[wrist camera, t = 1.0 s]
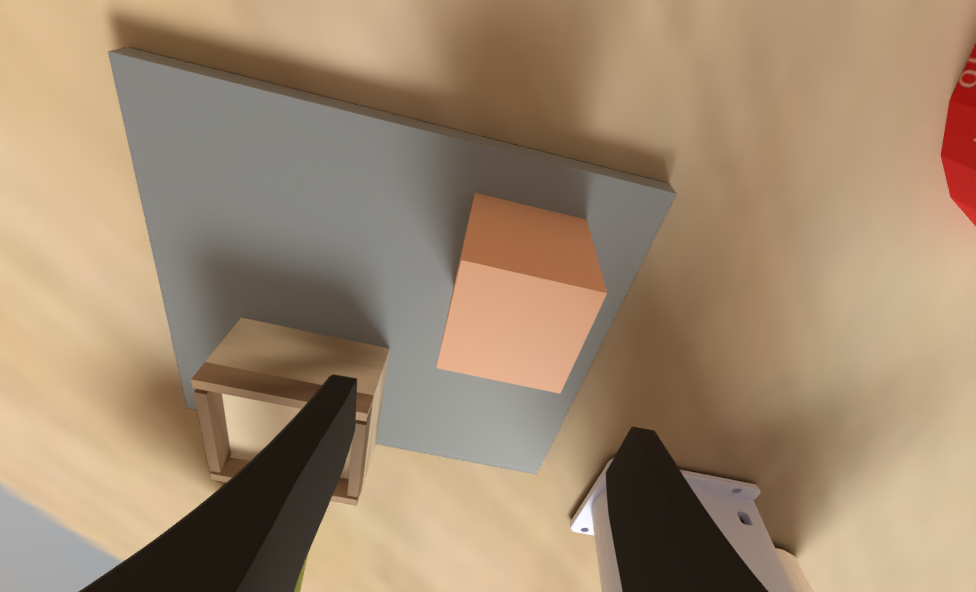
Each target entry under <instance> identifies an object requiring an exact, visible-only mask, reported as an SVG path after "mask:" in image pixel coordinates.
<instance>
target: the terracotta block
mask: <svg viewBox="0 0 976 592" xmlns="http://www.w3.org/2000/svg"><path fill="white" fill-rule="evenodd" d="M606 295H607V291H606V287H605V284H604V280H603V276H602V273H601V269H600V266H599V262H598V258H597V255H596V251H595V248H594V244H593V240H592V237H591V233H590V230H589V226H588V222H587V220H586V219H582V218H578V217H574V216H570V215H565V214H561V213H557V212H553V211H549V210H545V209H541V208H536V207H532V206H528V205H524V204H520V203H516V202H512V201H507V200H503V199H499V198H495V197H491V196H487V195H483V194H478V193H475V194H474V199H473V203H472V208H471V212H470V216H469V221H468V225H467V230H466V234H465V238H464V243H463V247H462V252H461V256H460V260H459V265H458V269H457V274H456V278H455V282H454V287H453V292H452V296H451V301H450V306H449V310H448V315H447V320H446V325H445V329H444V334H443V339H442V344H441V348H440V353H439V358H438V363H437V367H436V368H438V369H443V370H448V371H453V372H458V373H462V374H467V375H472V376H477V377H482V378H487V379H491V380H496V381H501V382H506V383H511V384H516V385H521V386H525V387H530V388H535V389H540V390H545V391H550V392H554V393H559V394H560V393H561V391H562V389H563V387H564V385H565V382H566V380H567V378H568V376H569V374H570V372H571V370H572V367H573V365H574V363H575V361H576V359H577V357H578V355H579V352H580V350H581V348H582V346H583V344H584V342H585V340H586V338H587V335H588V333H589V331H590V329H591V327H592V325H593V323H594V320H595V318H596V316H597V314H598V312H599V310H600V308H601V305H602V303H603V301H604V299H605V297H606Z"/></svg>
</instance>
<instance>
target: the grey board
mask: <svg viewBox="0 0 976 592" xmlns="http://www.w3.org/2000/svg"><path fill="white" fill-rule="evenodd" d="M108 54H109V58H110V63H111V67H112V72H113V76H114V81H115V85H116V90H117V94H118V99H119V103H120V108H121V112H122V117H123V121H124V126H125V130H126V135H127V139H128V144H129V148H130V153H131V157H132V162H133V166H134V171H135V175H136V180H137V184H138V189H139V193H140V198H141V202H142V207H143V211H144V216H145V220H146V225H147V229H148V234H149V238H150V243H151V247H152V252H153V257H154V261H155V266H156V270H157V275H158V279H159V284H160V288H161V293H162V297H163V302H164V306H165V311H166V315H167V320H168V324H169V329H170V333H171V338H172V342H173V347H174V351H175V356H176V360H177V365H178V369H179V374H180V378H181V383H182V387H183V392H184V396H185V401H186V405H187V408H189V409H194V410H197V407H196V402H195V397H194V391H195V389H196V388H193V387H192V383H191V378H192V377H193V376H194V375H195V374H196V372H197V371H198V370H199V369H200V367H201V366H202V365H203V364H204V362H205V361H206V360H207V359H208V358H209V356H210V355H211V354H212V353H213V351H214V350H215V349H216V348H217V347H218V345H219V344H220V343H221V342H222V340H223V339H224V338H225V337H226V335H227V334H228V333H229V332H230V331H231V329H232V328H233V327H234V326H235V324H236V323H237V322H238V321H239V319H240V318H246V319H250V320H255V321H260V322H265V323H270V324H274V325H279V326H284V327H289V328H294V329H298V330H303V331H308V332H313V333H318V334H322V335H327V336H332V337H337V338H342V339H346V340H351V341H356V342H361V343H366V344H370V345H375V346H380V347H385V348H390V352H389V359H388V366H387V373H386V380H385V387H384V394H383V401H382V408H381V415H380V421H379V428H378V435H377V440H376V444H378V445H383V446H388V447H394V448H399V449H404V450H409V451H415V452H420V453H425V454H430V455H436V456H441V457H446V458H452V459H457V460H462V461H467V462H473V463H478V464H483V465H488V466H494V467H499V468H504V469H509V470H515V471H520V472H525V473H530V474H536V475H537V473H538V471H539V469H540V467H541V465H542V463H543V461H544V459H545V457H546V455H547V453H548V451H549V449H550V447H551V445H552V443H553V441H554V439H555V437H556V435H557V433H558V431H559V429H560V427H561V425H562V423H563V421H564V419H565V417H566V415H567V413H568V411H569V409H570V407H571V405H572V403H573V401H574V399H575V397H576V395H577V393H578V391H579V389H580V387H581V385H582V383H583V381H584V379H585V377H586V375H587V373H588V371H589V369H590V367H591V365H592V363H593V361H594V359H595V357H596V355H597V353H598V351H599V349H600V346H601V344H602V342H603V340H604V338H605V336H606V334H607V332H608V330H609V328H610V326H611V324H612V322H613V320H614V318H615V316H616V314H617V312H618V310H619V308H620V306H621V304H622V302H623V300H624V298H625V296H626V294H627V292H628V290H629V288H630V286H631V284H632V282H633V280H634V278H635V276H636V274H637V272H638V270H639V268H640V266H641V264H642V262H643V260H644V258H645V256H646V254H647V252H648V250H649V248H650V246H651V244H652V242H653V240H654V238H655V236H656V234H657V232H658V230H659V228H660V226H661V224H662V222H663V220H664V218H665V216H666V214H667V212H668V210H669V208H670V206H671V204H672V202H673V200H674V198H675V196H676V194H677V193H676V192H675V191H674V189H673V188H672V187H671V185H670V184H669V183H665V182H661V181H657V180H653V179H649V178H645V177H641V176H637V175H633V174H629V173H625V172H621V171H617V170H613V169H610V168H606V167H602V166H598V165H594V164H590V163H586V162H582V161H578V160H574V159H570V158H566V157H562V156H558V155H554V154H550V153H546V152H542V151H538V150H534V149H530V148H526V147H522V146H518V145H514V144H510V143H506V142H502V141H498V140H494V139H490V138H487V137H483V136H479V135H475V134H471V133H467V132H463V131H459V130H455V129H451V128H447V127H443V126H439V125H435V124H431V123H427V122H423V121H419V120H415V119H411V118H407V117H403V116H399V115H395V114H391V113H387V112H383V111H379V110H375V109H371V108H368V107H364V106H360V105H356V104H352V103H348V102H344V101H340V100H336V99H332V98H328V97H324V96H320V95H316V94H312V93H308V92H304V91H300V90H296V89H292V88H288V87H284V86H280V85H276V84H272V83H268V82H264V81H260V80H256V79H252V78H249V77H245V76H241V75H237V74H233V73H229V72H225V71H221V70H217V69H213V68H209V67H205V66H201V65H197V64H193V63H189V62H185V61H181V60H177V59H173V58H169V57H165V56H161V55H157V54H153V53H149V52H145V51H141V50H137V49H133V48H130V47H128V48H123V49H118V50H112V51H108ZM475 193H478V194H483V195H487V196H491V197H495V198H499V199H503V200H507V201H512V202H516V203H520V204H524V205H528V206H532V207H536V208H541V209H545V210H549V211H553V212H557V213H561V214H565V215H570V216H574V217H578V218H582V219H586V220H587V222H588V226H589V230H590V233H591V237H592V240H593V244H594V248H595V251H596V255H597V258H598V262H599V266H600V269H601V273H602V276H603V280H604V284H605V287H606V291H607V295H606V297H605V299H604V301H603V303H602V305H601V308H600V310H599V312H598V314H597V316H596V318H595V320H594V323H593V325H592V327H591V329H590V331H589V333H588V335H587V338H586V340H585V342H584V344H583V346H582V348H581V350H580V352H579V355H578V357H577V359H576V361H575V363H574V365H573V367H572V370H571V372H570V374H569V376H568V378H567V380H566V382H565V385H564V387H563V389H562V391H561V393H560V394H559V393H554V392H550V391H545V390H540V389H535V388H530V387H525V386H521V385H516V384H511V383H506V382H501V381H496V380H491V379H487V378H482V377H477V376H472V375H467V374H462V373H458V372H453V371H448V370H443V369H438V368H436V367H437V363H438V358H439V353H440V348H441V344H442V339H443V334H444V329H445V325H446V320H447V315H448V310H449V306H450V301H451V296H452V292H453V287H454V282H455V278H456V274H457V269H458V265H459V260H460V256H461V252H462V247H463V243H464V238H465V234H466V230H467V225H468V221H469V216H470V212H471V208H472V203H473V199H474V194H475Z"/></svg>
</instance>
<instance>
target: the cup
mask: <svg viewBox="0 0 976 592" xmlns="http://www.w3.org/2000/svg"><path fill="white" fill-rule="evenodd" d="M775 549H776V551H777V554H778V556H779V558H780V560H781V563H782V565H783V567H784V569H785V572H786V574H787V576H788V578H789V581H790V583H791V585H792V587H793V589H794V592H813V590H812V588H811V587H810V585H809V583H808V581H807V579H806V577H805V575H804V573H803V571H802V569H801V568H800V566H799V564H798V562H797V560H796V558H795V557H794V555H792V554H790V553H788V552H786V551H785V550H782V549H777V548H775Z"/></svg>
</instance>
